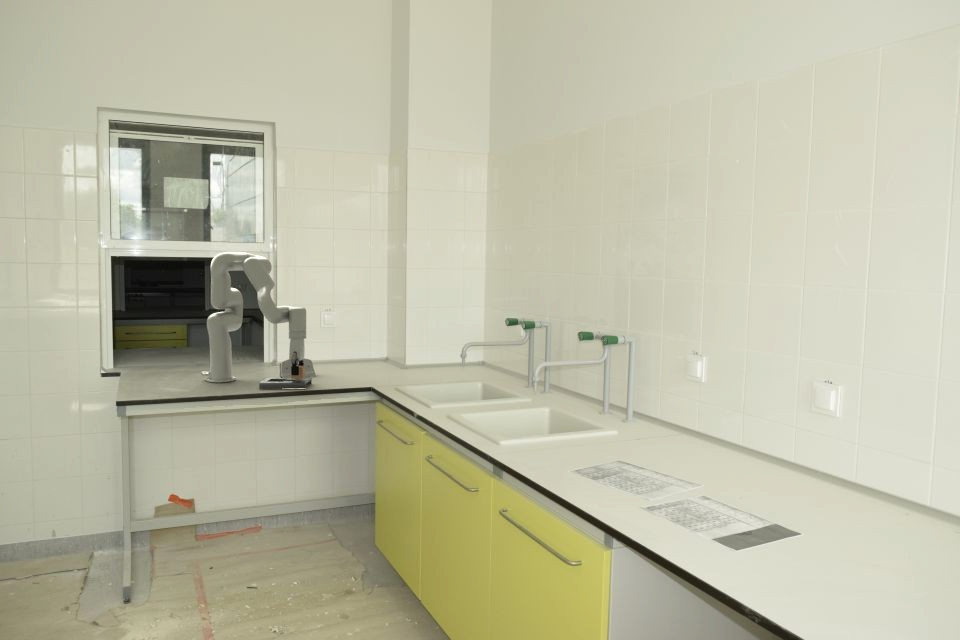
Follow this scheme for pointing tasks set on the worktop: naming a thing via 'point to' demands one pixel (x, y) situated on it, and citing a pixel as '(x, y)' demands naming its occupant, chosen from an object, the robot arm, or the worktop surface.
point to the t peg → (301, 374)
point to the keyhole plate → (284, 383)
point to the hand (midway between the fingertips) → (297, 373)
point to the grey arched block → (286, 368)
